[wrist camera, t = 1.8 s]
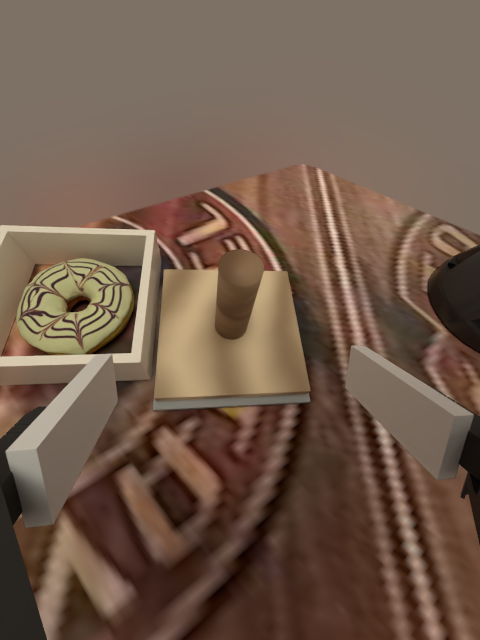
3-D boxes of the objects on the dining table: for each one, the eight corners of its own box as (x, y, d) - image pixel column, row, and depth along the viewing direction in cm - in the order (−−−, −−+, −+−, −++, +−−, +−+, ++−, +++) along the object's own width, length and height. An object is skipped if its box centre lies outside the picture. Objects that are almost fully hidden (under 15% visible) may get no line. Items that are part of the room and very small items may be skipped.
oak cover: (284, 277, 34) (314, 205, 24) (306, 394, 27) (359, 355, 17) (165, 276, 32) (149, 197, 22) (156, 401, 25) (126, 362, 16)
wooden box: (161, 261, 33) (154, 230, 29) (151, 379, 26) (140, 362, 22) (29, 258, 31) (1, 225, 27) (-21, 386, 24) (-70, 368, 20)
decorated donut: (6, 339, 27) (-22, 321, 24) (74, 264, 32) (59, 240, 29) (99, 377, 26) (83, 364, 23) (154, 293, 31) (147, 273, 28)
